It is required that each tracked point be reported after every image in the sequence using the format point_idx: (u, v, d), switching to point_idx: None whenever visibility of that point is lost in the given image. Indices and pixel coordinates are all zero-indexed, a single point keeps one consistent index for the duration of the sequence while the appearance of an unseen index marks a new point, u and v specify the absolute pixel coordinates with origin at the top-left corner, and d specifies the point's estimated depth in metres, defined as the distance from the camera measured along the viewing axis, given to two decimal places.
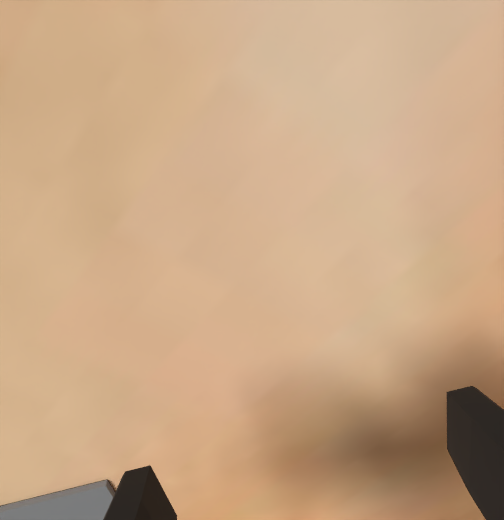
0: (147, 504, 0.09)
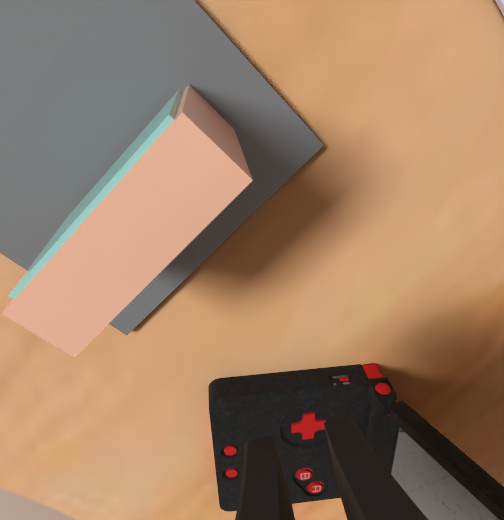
0: (279, 472, 0.09)
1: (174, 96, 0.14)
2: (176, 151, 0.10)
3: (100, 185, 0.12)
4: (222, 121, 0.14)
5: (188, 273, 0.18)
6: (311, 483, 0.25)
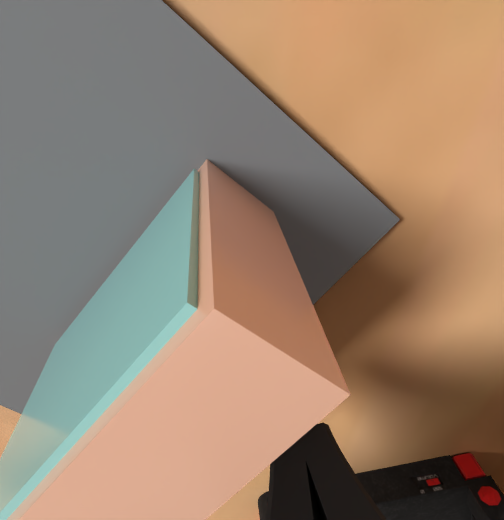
0: None
1: (188, 190, 0.09)
2: (207, 370, 0.05)
3: (84, 355, 0.08)
4: (260, 213, 0.10)
5: None
6: None
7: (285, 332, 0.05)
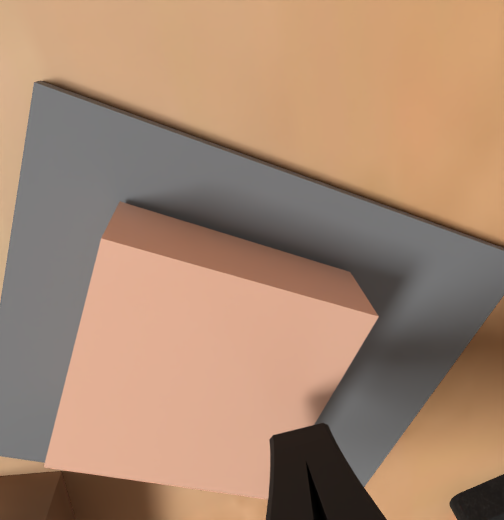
0: None
1: None
2: None
3: None
4: (327, 289, 0.10)
5: (399, 435, 0.16)
6: None
7: (133, 226, 0.10)
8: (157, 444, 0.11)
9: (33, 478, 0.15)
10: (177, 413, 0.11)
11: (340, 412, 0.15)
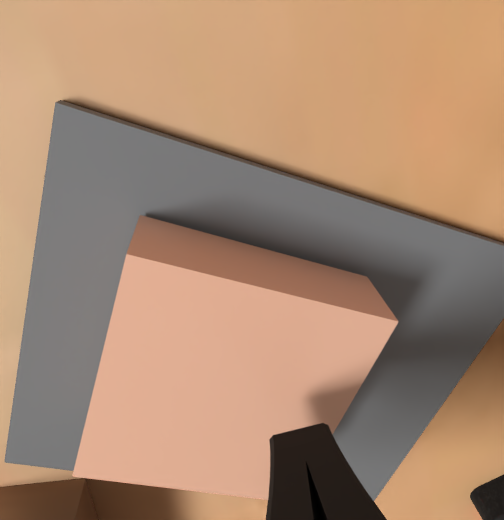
0: None
1: None
2: None
3: None
4: (346, 295, 0.11)
5: (418, 435, 0.16)
6: None
7: (155, 240, 0.10)
8: (182, 451, 0.12)
9: (58, 485, 0.15)
10: (201, 420, 0.11)
11: (359, 414, 0.15)
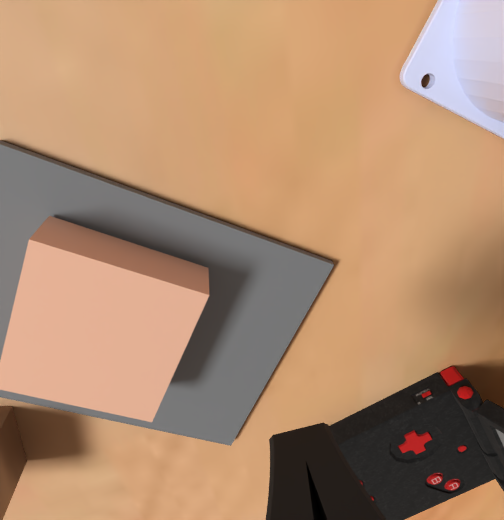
0: None
1: None
2: None
3: None
4: (180, 277, 0.16)
5: (261, 389, 0.22)
6: (446, 483, 0.26)
7: (53, 232, 0.15)
8: (70, 375, 0.17)
9: None
10: (82, 354, 0.17)
11: (214, 369, 0.21)
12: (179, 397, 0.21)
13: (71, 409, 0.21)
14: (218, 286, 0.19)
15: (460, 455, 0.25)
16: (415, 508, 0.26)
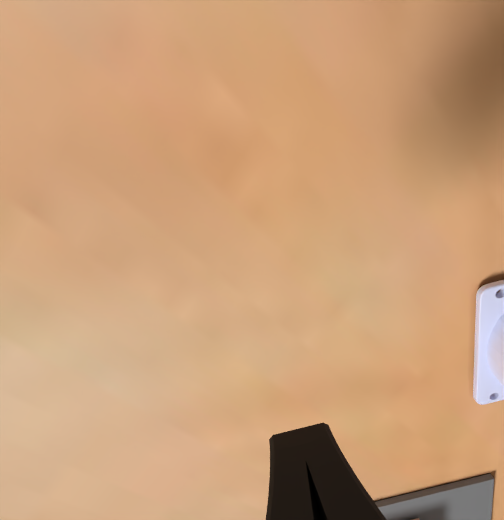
0: None
1: None
2: None
3: None
4: None
5: None
6: None
7: None
8: None
9: None
10: None
11: None
12: None
13: None
14: (429, 519, 0.29)
15: None
16: None
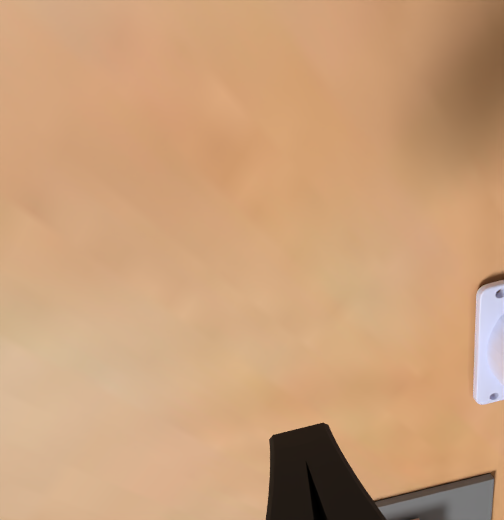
0: None
1: None
2: None
3: None
4: None
5: None
6: None
7: None
8: None
9: None
10: None
11: None
12: None
13: None
14: (429, 519, 0.29)
15: None
16: None
